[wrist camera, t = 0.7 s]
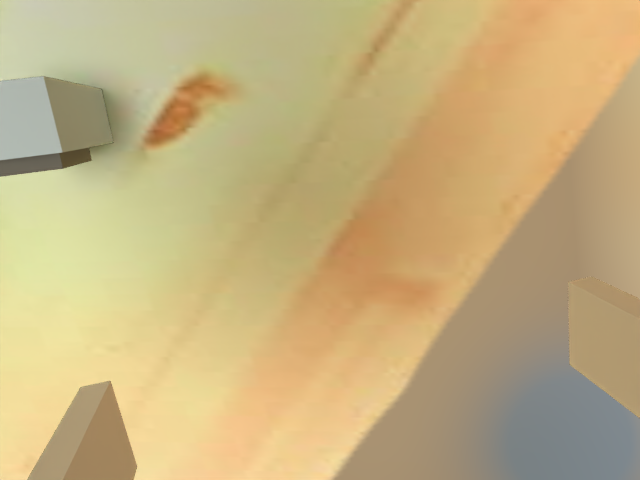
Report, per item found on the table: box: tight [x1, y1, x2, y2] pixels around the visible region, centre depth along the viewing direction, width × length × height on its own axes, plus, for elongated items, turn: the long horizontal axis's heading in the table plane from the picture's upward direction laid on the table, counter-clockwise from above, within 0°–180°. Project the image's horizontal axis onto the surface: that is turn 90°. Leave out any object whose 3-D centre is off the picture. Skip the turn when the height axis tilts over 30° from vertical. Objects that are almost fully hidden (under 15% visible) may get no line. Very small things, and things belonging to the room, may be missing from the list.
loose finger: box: [0, 76, 114, 177], centre depth 28 cm, size 4×4×10 cm
